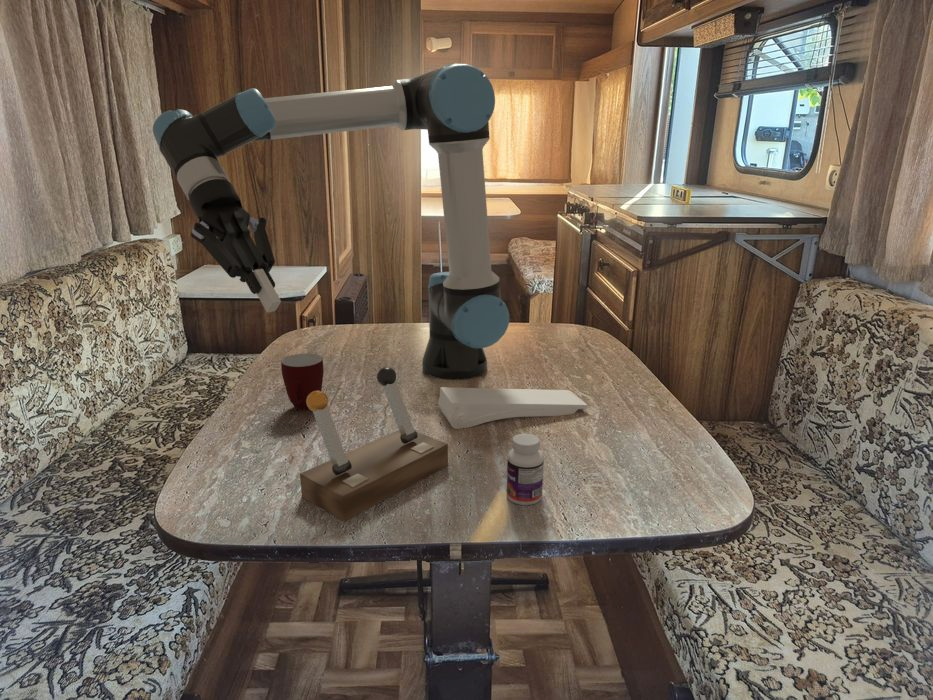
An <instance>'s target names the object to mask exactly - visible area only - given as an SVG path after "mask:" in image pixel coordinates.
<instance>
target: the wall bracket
mask: <svg viewBox="0 0 933 700" xmlns="http://www.w3.org/2000/svg"><path fill="white" fill-rule="evenodd" d="M439 388H440V389H439V398H438V403H437V404H438V408H439V410H440V411H441V412H442V414H443V415H444V417H445V418H446V420H447V421H448V423H449V424H450V426H452V428H454V429H455V430H458V429H465V428H471V427H472V428H473V427H475V426H478V425H480V424H481V425H482V424H485V423H487V422H492V421H497V420H502V419H503V420H504V419H509V418H510V419H511V418H520V417H523V418H524V417H559V416H566V415H567V416H568V415H574V414H575V413H576V412H577V411H578V410H587V409H588V404H587V403H586V402H585V401H583V400H582V399H581V398H579V397H578V395H576V394H575V393H574V392H572V391H571V390H569V389H537V388H536V389H533V388H532V389H531V388H530V389H527V388H525V389H524V388H488V387H487V388H486V387H485V388H483V387H444V386H443V387H442V386H441V387H439Z"/></svg>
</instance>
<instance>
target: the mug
mask: <svg viewBox="0 0 933 700" xmlns="http://www.w3.org/2000/svg"><path fill="white" fill-rule="evenodd" d="M280 367H281V376H282V379H283V384H284V387H285V390H286V394H287V398H288V399H289V401H290V403H292V405H293V406H294V408H295V409H296V410H298V411H311V410H310V409H309V408H308V406H307V403H306V400H307V397H308V395H309V394H310V393H311V392H313V391H322V390H323V388H322V387H323V381H324V372H325V371H324V359H323V357H322V355H319V354H316V353H315V354H314V353H297V354H291V355H288V356H286V357H284V358H282V359H281V362H280ZM322 392H323V391H322Z"/></svg>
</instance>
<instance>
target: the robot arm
mask: <svg viewBox="0 0 933 700" xmlns="http://www.w3.org/2000/svg"><path fill="white" fill-rule="evenodd" d="M495 104H496V95H495V90H494V86H493V84H492V82H491V81H490V79H489V77H488V76H487V75H486V74H485V73H484V72H483V71H482V70H480V69H479V68H478V67H477V66H473V65H470V64H467V63H455V62H454V63H453V64H447V65H444V66H442V67H440V68H438V69H434V70H431V71H428V72H427V73H424V74H421V75H417V76H414V77H410V78H403V79H395V80H394V81H393V83H392V84H391V85H389V86H378V87H377V86H376V87H368V88H367V87H365V88H358V89H346V90H345V89H344V90H338V91H337V90H336V91H327V92H325V91H324V92H317V93H316V92H315V93H306V94H297V95H287V96H286V95H285V96H275V97H265V98H264V96H263V95H262V93H261V92H260V91H259V90H258V89H257V88H254V87H253V88H252V87H251V88H248V89H247V90H244V91H243V92H242V91H241V92H238V93H236V95H233V96H231V97H230V98H227V99H226V100H224V101H221V102H220V103H218V104H216V105H214V106H213V107H211V108H209V109H206V110H205V111H203V112H200V113H198V114H195V115H193V114H192V113H190V112H189V111H188V110H185V109H182V108H181V109H180V108H177V109H176V110H171V109H169V110H166V111H164V112H162V113H161V114H160V115H159V116H157V118H156V119H155V120H154V122H153V125H152V134H153V137H154V139H155V140H156V143H157V145H158V147H159V148H158V149H159V151H160V153H161V154H162V156H163V158H164V159H165V161H166V163H167V165H168V167H169V169H170V170H171V172H172V173H173V175H174V177H175V179H176V181H177V182H178V184H179V186H180V188H181V189H182V192H183V193H184V195H185V197H186V198H187V200H188V202H189V205H190V206H191V208H192V211H193V212H194V214H195V216H196V218H197V219H198V222H195V223H194V225H193V228H192V230H191V232H190V237H191V239H192V238H193V239H194V240H196V241H197V242H199V244H201V245H202V246H203V247H204V249H206V251H207V252H209V254H210V255H211V257H213V259H214V260H215V261H216V263H218V265H220V267H221V268H222V269H223V271H224V272H225V273H226V274H227V275H228V276H229V278H232V279H235V278H236V277H237V278H238V277H239V281H240V282H241V283H246V285H247V287H248V288H249V290H250V291H249V292H251V293H252V294H253V295H256V296H257V297H258V299H259V301H260V302H261V305H262V307H263V308H264V310H265V312H266V313H273V312H276V310H277V309H278V307H279V305H280V304H281V303H282V300H281V299H280V297H279V295H278V294H277V292H276V290H275V287H276V283H275V281H274V279H273V277H272V275H271V274H270V271H271V270H272V269H273V266H274V265H275V264H276V263H275V262H276V260H275V256H274V254H273V250H272V247H271V244H270V240H269V237H268V234H267V230H266V227H267V219H266V218H265V217H259V218H254V217H252V216H251V215H250V213H249V212H248V211H247V210H245V208H244V207H243V205H242V202H241V198H240V196H239V195H238V192H237V191H236V189H235V187H234V186H233V184H232V183H231V181H230V178H229V177H228V175H227V173H226V172H225V170H224V167H223V166H222V165H221V162H220V161H219V160H218V159H219V158H221V157H223V156H225V155H227V154H228V153H231V152H233V151H235V150H237V149H238V148H241V147H243V146H245V145H247V144H250V143H256V142H263V141H270V140H280V139H287V138H299V137H305V136H306V137H307V136H315V135H316V136H317V135H325V134H333V133H344V132H351V131H352V132H353V131H360V130H361V131H362V130H370V129H381V128H388V127H397V128H398V129H399V130H401V131H409V130H426V131H427V135H428V145H429V146H430V147H432V149H434V151H436V153H437V156H438V168H439V178H440V179H439V180H440V186H441V187H440V188H441V189H440V190H441V201H442V209H443V220H444V229H445V241H446V251H447V261H448V271H440V272H436V273H435V272H434V273H432V274H431V275H430V276H429V278H428V286H427V290H428V318H429V319H428V320H429V321H428V323H429V324H428V325H429V327H428V328H429V336H428V342H427V344H426V348H425V349H424V350H425V351H424V353H423V354H424V355H423V357H422V359H421V360H422V364H421V365H422V368H421V369H422V372H424V374H426V375H428V376H429V377H433V378H436V379H442V380H450V381H451V380H454V381H455V380H467V379H473V378H477V377H479V376H482V375H483V374H485V373H486V372H487V369H488V359H487V356H486V353H485V350H484V349H486V348H489V347H491V346H493V345H495V344H496V343H498V342H499V341H500V339H501V338H503V336H504V335H505V334H506V332H507V330H508V328H509V324H510V313H509V312H510V311H509V309H508V307H507V305H506V303H505V301H503V299H502V295H501V284H500V277H499V276H498V275H497V274H496V273H495V272H494V271H493V270H492V262H491V260H492V259H491V249H490V247H491V246H490V245H491V244H490V236H489V235H490V234H489V233H490V232H489V221H488V220H489V219H488V207H487V193H486V182H485V181H486V179H485V169H484V168H485V166H484V152H483V149H484V147H485V146H486V144H487V143H488V142H489V141H490V139H491V138H490V122H489V121H490V120H491V117H492V116H493V114H494V110H495ZM249 227H250V229H249ZM250 230H251V231H250ZM251 233H253V238H252V237H251Z"/></svg>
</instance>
